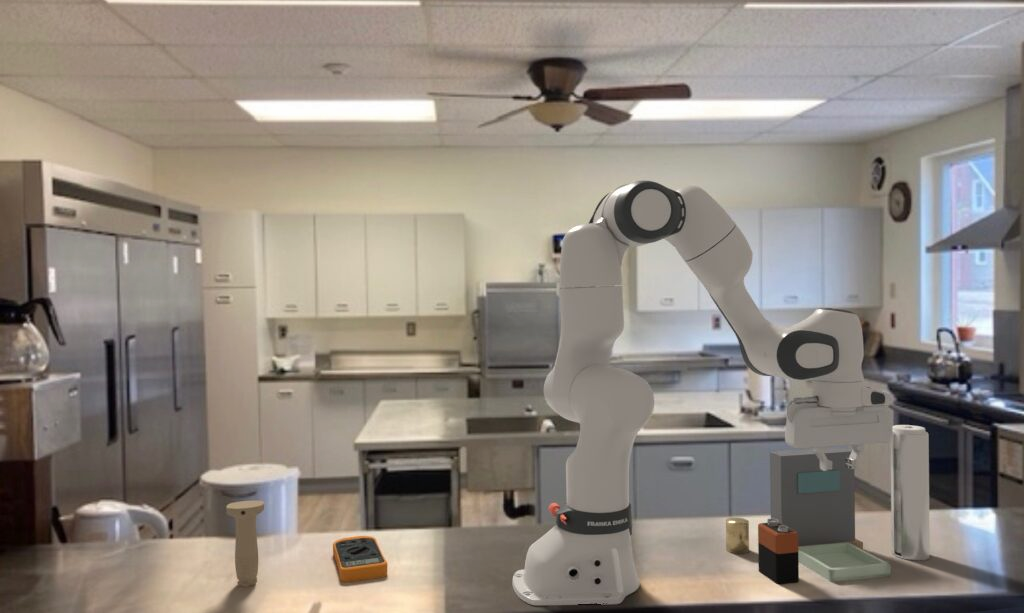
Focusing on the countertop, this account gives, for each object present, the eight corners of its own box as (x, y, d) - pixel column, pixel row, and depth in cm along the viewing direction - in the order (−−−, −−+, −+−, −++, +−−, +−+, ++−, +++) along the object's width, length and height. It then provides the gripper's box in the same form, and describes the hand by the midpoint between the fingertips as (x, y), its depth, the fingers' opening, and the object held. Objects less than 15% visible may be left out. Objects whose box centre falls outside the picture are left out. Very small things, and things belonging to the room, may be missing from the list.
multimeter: (374, 549, 152) (374, 533, 152) (388, 581, 135) (388, 562, 135) (332, 554, 149) (331, 538, 149) (341, 588, 132) (340, 569, 132)
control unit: (780, 557, 142) (778, 457, 142) (763, 547, 148) (762, 451, 147) (863, 549, 145) (861, 452, 145) (843, 540, 151) (842, 445, 151)
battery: (779, 569, 136) (778, 516, 136) (800, 583, 129) (799, 527, 129) (757, 572, 135) (756, 518, 135) (777, 586, 128) (776, 529, 128)
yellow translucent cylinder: (732, 555, 144) (732, 525, 144) (722, 548, 148) (721, 518, 148) (753, 553, 144) (753, 523, 144) (742, 546, 149) (741, 516, 149)
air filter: (934, 561, 138) (933, 430, 138) (897, 559, 140) (896, 429, 139) (922, 549, 145) (921, 423, 144) (887, 548, 146) (886, 423, 146)
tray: (830, 582, 130) (830, 570, 130) (792, 558, 141) (792, 547, 141) (890, 576, 132) (890, 564, 132) (848, 553, 144) (848, 542, 144)
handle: (263, 590, 131) (261, 507, 131) (226, 593, 130) (223, 509, 130) (267, 580, 136) (265, 499, 135) (231, 583, 135) (229, 502, 134)
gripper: (796, 400, 131) (797, 477, 131) (897, 394, 135) (898, 469, 135) (777, 395, 137) (778, 469, 137) (874, 390, 141) (875, 461, 141)
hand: (839, 469), depth 136 cm, fingers open, 4 cm apart
